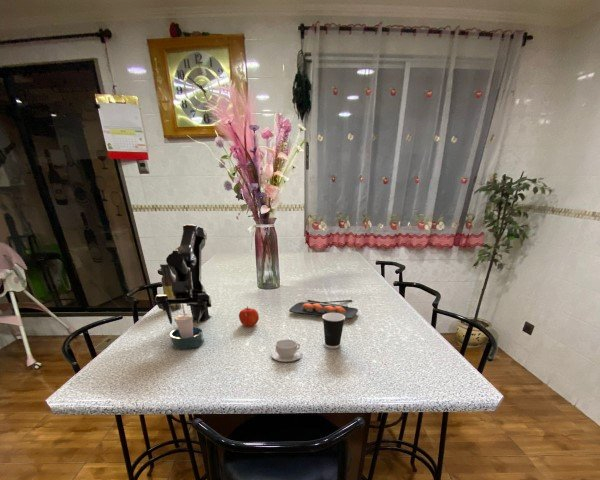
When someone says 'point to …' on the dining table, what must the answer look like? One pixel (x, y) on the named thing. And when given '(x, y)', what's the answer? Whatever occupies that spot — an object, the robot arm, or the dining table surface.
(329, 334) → the dixie cup
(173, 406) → the dining table surface
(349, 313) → the sushi plate
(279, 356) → the teacup
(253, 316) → the apple
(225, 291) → the dining table surface
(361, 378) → the dining table surface
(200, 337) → the bowl
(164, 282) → the sauce bottle
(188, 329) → the smoothie
